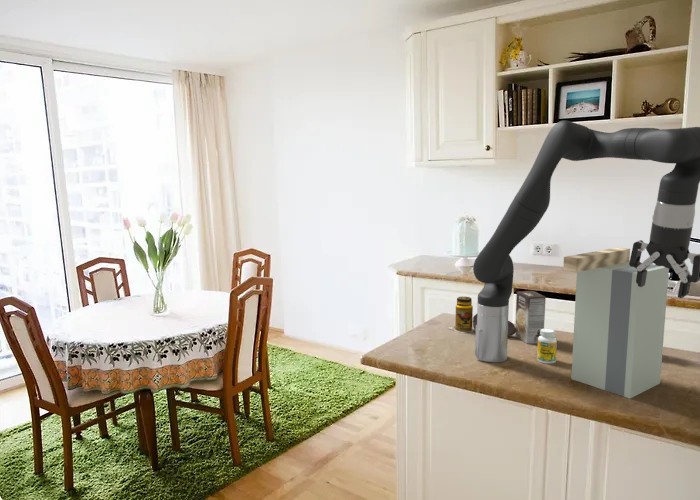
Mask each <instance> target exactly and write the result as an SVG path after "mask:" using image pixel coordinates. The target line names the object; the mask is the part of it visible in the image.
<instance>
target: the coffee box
mask: <svg viewBox="0 0 700 500" xmlns="http://www.w3.org/2000/svg"><path fill="white" fill-rule="evenodd" d="M546 299H547V298H546V296H545V295H542V294H541V293H538V292H537V291H534V290H523V291H516V302H515V304H516V305H515V324H514V326H515V329H516V332H515V334H514V336H515V337H516V338H518V339H520V340H521V341H522V342H524V343H525V344H526V345H528V344H538V337H539V336H541V334H540V331H541V329H545V319H546V317H545V316H546Z"/></svg>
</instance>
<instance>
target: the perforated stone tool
mask: <svg viewBox="0 0 700 500" xmlns="http://www.w3.org/2000/svg"><path fill="white" fill-rule="evenodd" d="M472 317H473V318H472V328H474V329H475V331H476V325H477V313H476V314H475V315H473V316H472ZM515 332H516V329H515V324H514V323H513V322H512V321H511V320H508V337H511V336H514V335H515Z"/></svg>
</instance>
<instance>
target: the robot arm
mask: <svg viewBox="0 0 700 500" xmlns="http://www.w3.org/2000/svg"><path fill="white" fill-rule="evenodd" d="M604 158H605V159H606V158H607V159H609V158H611V159H613V158H614V159H624V160H637V161H638V160H639V161H643V160H644V161H652V162H657V163H663V164H675V165H674V168H672V170H671V171H670V172H668V173H666V174H664V175H663V176H662V177H661V178H660V182H659V186H658V192H657V198H656V202H655V203H656V204H655V207H654V211H653V214H652V220H651V221H652V222H651V229H650V235H649V242H648V243H647V242H644V241H643V240H638V241H635V242H633V245H632V249H631V252H630V259H629V261H630V262H629V265H630V266H631V267H634V268H636V269H637V277H636V283H637V284H638V286H639V287H643V286H644V285H645V282H646V276H647V270H646V268H647V267H649V266H650V265H651V264H654V265H657V266H664V267H666V268H669V270H671V269H672V270H674V272H675V274H676V275H678V277H679V279H680V280H681V281H680V282H679V289H678V293H677V298H679V299H683V298H685V297H686V296H688V295H689V293H690V288H691V284H692V283H698V282H699V281H700V253H692V252H690V248H689V247H690V243H691V237H692V232H693V227H694V222H695V221H694V220H695V216H696V202H697V197H698V190H699V186H700V185H699V184H700V126H693V127H690V126H689V127H680V128H679V127H678V128H668V129H667V128H666V129H663V128H662V129H661V128H655V127H631V128H630V127H629V128H622V129H619V130H617V131H613V132H606V131H605V132H603V131H598V130H596V129H591V128H589V127H588V126H585V125H582V124H580V123H576V122H573V121H569V120H564V119H563V120H560V121H558V122H557V123H555V124H554V125H553V126H552V128H551V129H550V130H549V131H548V133H547V135H546V137H545V139H544V141H543V143H542V146H541V147H540V149H539V152H538V154H537V156H536V158H535V160H534V163H533V165H532V167H531V169H530V171H529V173H528V174H527V176H526V178H525V180H523V183H522V184H521V187H520V188H519V190H518V192H517V193H516V195H515V196H514V198H513V199H512V201H511V203H510V204H509V206H508V208H507V210H506V212H505V214H504V215H503V217H502V219H501V220H500V222H499V224H498V225H497V228H496V229H495V231H494V233H493V234H492V236H491V237H490V239H489V240H488V241H487V243H486V244H485V246H484V247H483V248H482V249H481V251H480V252H479V254H478V255H477V256H476V258H475V260H474V262H473V267H472V269H473V270H472V271H473V274H474V276H475V279H477V280H478V281H479V282H481V283H484V286H483V288H482V289H481V290H480V292H479V293H478V294H477V306H476V307H477V310H476V311H477V312H476V314H477V325H476V330H475V331H474V332H475V335H474V339H475V341H474V342H475V343H474V345H475V346H474V355H475V357H476V359H477V361H482V362H483V361H484V362H487V363H502V362H505V361H507V359H508V344H509V343H508V341H509V340H508V339H509V338H508V337H509V336H508V321H509V311H510V310H509V309H510V307H509V305H510V298H511V296H512V293H513V285H514V262H513V261H514V260H513V259H512V257H511V255H510V254H511V253H512V252H513V250H514V249H515V248H516V247H517V246H518V245H519V244H520V243H521V242H522V241H523V240H524V239H525V238H526V237H527V236H529V234H530V233H532V231H534V230H535V228H536V227H537V226H538V224H540V221H541V220H542V218H543V217H544V215H545V213H546V212H547V210H548V208H549V207H550V202H551V183H552V182H551V181H552V176H553V175H554V172H555V171H556V169H557V166H558V164H559V163H560V162H561V160H562V159H564V160H568V161H572V162H579V161H589V160H594V159H604ZM645 250H646V251H647V254H648V255H649V257H648V258H646V259H645V260H644V261H642V262H640V261H641V258H642V252H644V251H645ZM687 259H689V261H690V263H691V264H692V270H691V273H690V271H689V267H688V265H687V263H686V262H685V261H687Z"/></svg>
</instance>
